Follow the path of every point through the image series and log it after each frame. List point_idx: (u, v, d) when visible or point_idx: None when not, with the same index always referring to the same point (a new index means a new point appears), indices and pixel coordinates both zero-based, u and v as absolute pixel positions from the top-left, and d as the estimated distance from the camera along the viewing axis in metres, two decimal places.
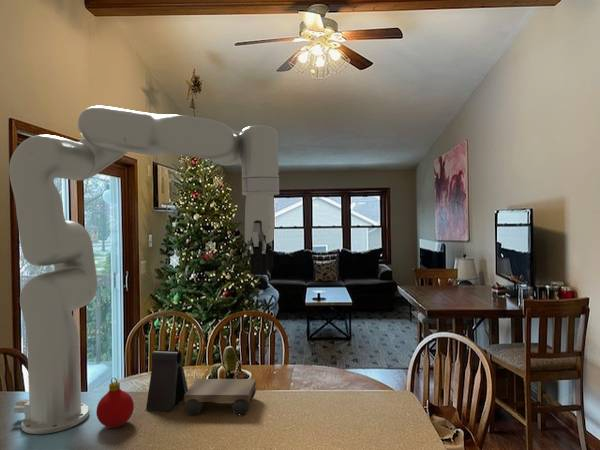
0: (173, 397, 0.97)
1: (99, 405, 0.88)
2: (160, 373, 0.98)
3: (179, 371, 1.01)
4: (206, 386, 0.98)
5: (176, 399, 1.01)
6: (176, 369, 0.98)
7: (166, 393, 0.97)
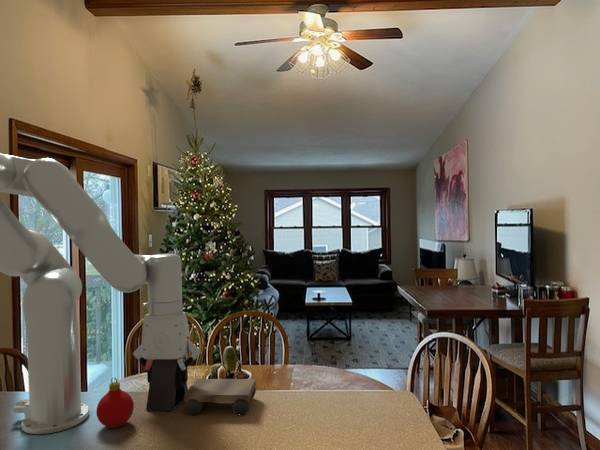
0: (173, 397, 0.97)
1: (99, 405, 0.88)
2: (160, 373, 0.98)
3: None
4: (206, 386, 0.98)
5: (176, 399, 1.01)
6: (176, 369, 0.98)
7: (166, 393, 0.97)
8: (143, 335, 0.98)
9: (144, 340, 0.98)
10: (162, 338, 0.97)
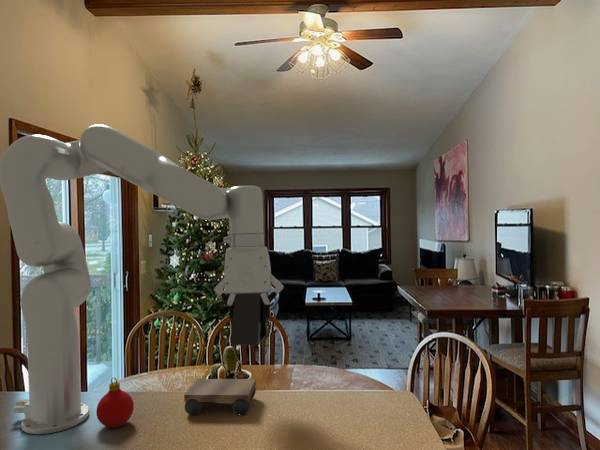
0: (259, 331, 0.94)
1: (99, 405, 0.88)
2: (243, 307, 0.95)
3: (261, 307, 0.98)
4: (206, 386, 0.98)
5: None
6: (260, 303, 0.95)
7: (251, 327, 0.94)
8: (226, 268, 0.95)
9: (227, 273, 0.95)
10: (246, 271, 0.94)
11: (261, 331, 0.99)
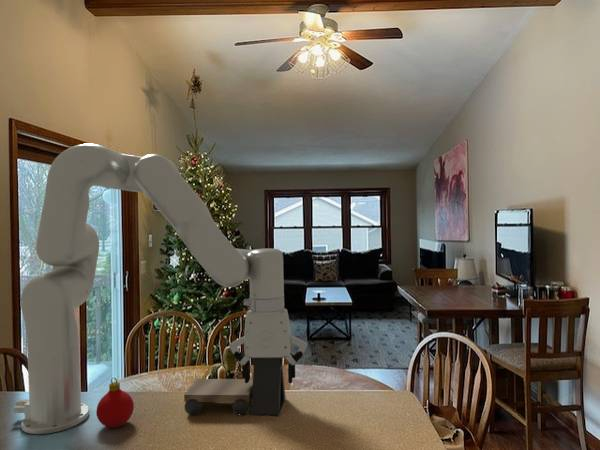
0: (279, 401, 0.94)
1: (99, 405, 0.88)
2: (263, 376, 0.95)
3: None
4: (206, 386, 0.98)
5: None
6: (280, 372, 0.95)
7: (272, 397, 0.93)
8: (246, 333, 0.94)
9: (247, 338, 0.94)
10: (266, 336, 0.94)
11: None
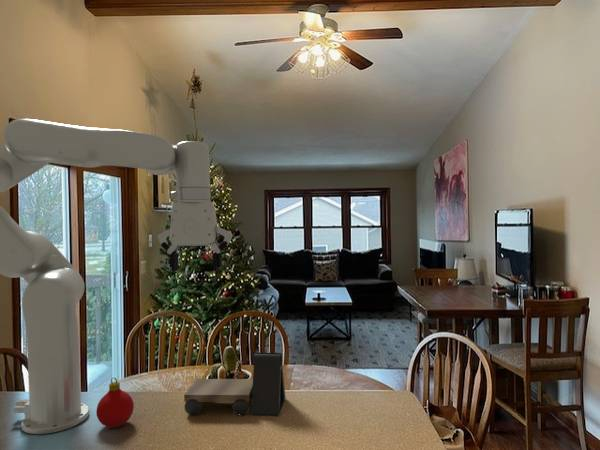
0: (279, 401, 0.94)
1: (99, 405, 0.88)
2: (263, 376, 0.95)
3: None
4: (206, 386, 0.98)
5: None
6: (280, 372, 0.95)
7: (272, 397, 0.93)
8: (172, 221, 0.98)
9: (173, 226, 0.98)
10: (191, 224, 0.97)
11: None
